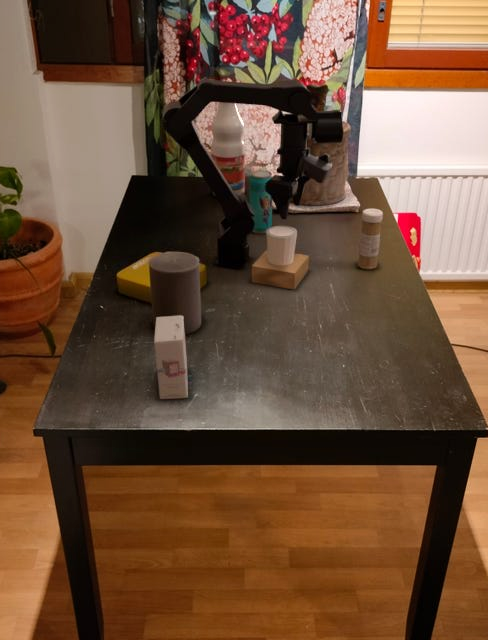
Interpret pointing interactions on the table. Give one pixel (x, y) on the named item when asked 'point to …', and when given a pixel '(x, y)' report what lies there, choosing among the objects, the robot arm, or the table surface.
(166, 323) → the ink box
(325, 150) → the cookie jar
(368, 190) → the table surface
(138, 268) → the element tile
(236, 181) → the fruit juice
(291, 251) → the shot glass
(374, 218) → the sprinkles bottle
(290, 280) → the maple block
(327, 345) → the table surface
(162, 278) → the pillar candle
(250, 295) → the table surface
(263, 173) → the beverage can
